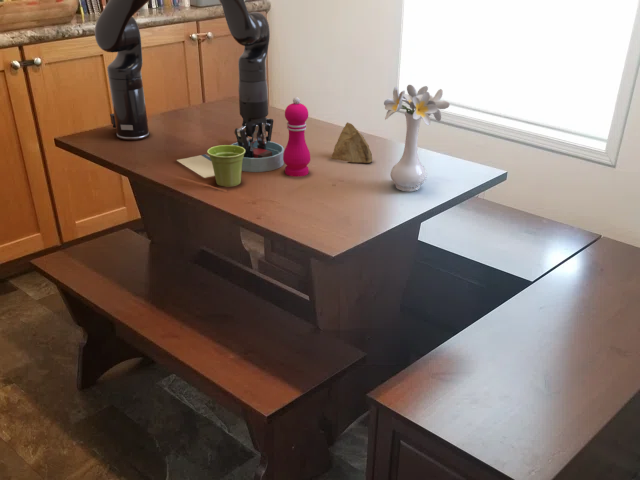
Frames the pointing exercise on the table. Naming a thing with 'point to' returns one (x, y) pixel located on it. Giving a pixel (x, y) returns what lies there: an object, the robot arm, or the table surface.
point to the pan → (264, 159)
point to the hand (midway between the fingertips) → (255, 160)
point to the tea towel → (199, 165)
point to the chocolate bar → (261, 153)
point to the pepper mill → (296, 140)
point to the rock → (352, 146)
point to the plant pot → (227, 164)
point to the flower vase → (413, 132)
